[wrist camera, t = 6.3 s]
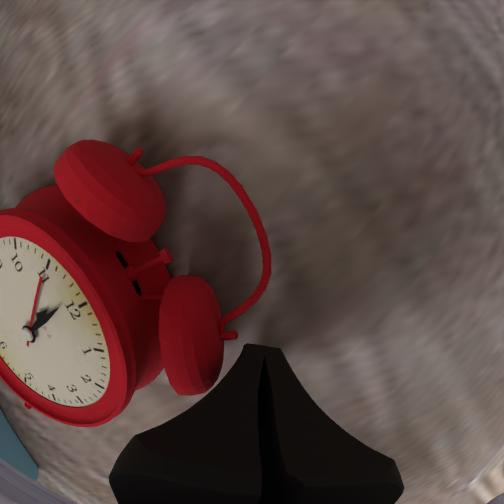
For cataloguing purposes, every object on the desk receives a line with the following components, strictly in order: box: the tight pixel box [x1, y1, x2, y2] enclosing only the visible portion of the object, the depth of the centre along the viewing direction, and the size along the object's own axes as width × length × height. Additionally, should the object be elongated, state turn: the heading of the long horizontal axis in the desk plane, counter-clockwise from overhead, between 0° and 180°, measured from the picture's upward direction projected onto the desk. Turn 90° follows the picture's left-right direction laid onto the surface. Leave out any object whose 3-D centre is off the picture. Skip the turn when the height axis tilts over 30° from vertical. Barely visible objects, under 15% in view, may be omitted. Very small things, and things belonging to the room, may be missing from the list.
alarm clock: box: [0, 140, 271, 427], centre depth 10 cm, size 10×6×15 cm
